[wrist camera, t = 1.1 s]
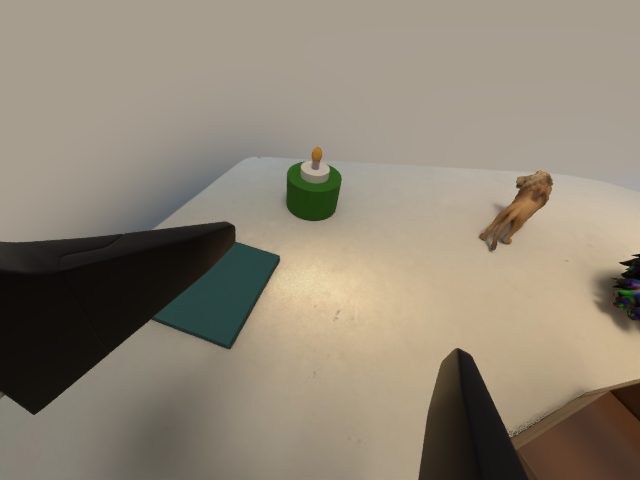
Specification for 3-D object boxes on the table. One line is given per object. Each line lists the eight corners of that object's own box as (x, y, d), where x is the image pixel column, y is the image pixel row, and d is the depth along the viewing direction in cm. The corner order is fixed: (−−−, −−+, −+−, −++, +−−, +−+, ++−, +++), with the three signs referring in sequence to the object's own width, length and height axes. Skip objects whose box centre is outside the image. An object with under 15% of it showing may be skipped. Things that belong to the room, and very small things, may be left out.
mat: (230, 349, 24) (228, 345, 23) (126, 309, 25) (121, 305, 25) (280, 260, 32) (279, 255, 31) (199, 234, 34) (197, 229, 33)
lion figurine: (495, 204, 47) (529, 162, 41) (525, 218, 45) (565, 175, 39) (474, 243, 39) (513, 197, 32) (510, 262, 37) (559, 217, 30)
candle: (276, 202, 40) (274, 143, 33) (310, 184, 45) (315, 129, 38) (312, 228, 37) (320, 169, 30) (345, 205, 42) (358, 150, 34)
